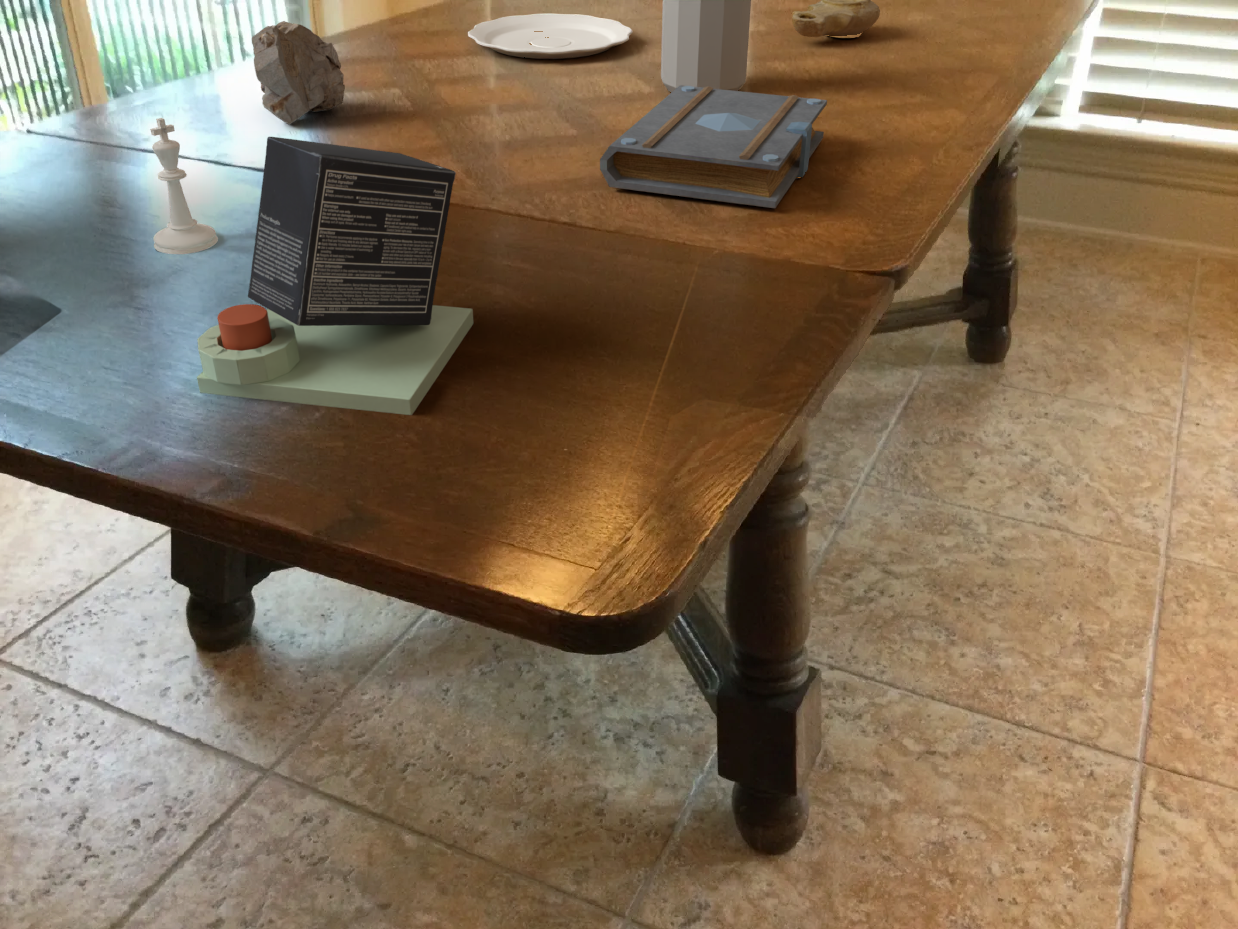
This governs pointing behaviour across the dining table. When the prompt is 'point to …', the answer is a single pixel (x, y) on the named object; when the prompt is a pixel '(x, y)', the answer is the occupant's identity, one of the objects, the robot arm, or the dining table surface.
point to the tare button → (244, 327)
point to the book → (717, 146)
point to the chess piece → (177, 202)
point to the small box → (348, 234)
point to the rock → (296, 71)
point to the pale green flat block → (337, 362)
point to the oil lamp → (836, 18)
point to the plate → (550, 35)
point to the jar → (705, 43)
